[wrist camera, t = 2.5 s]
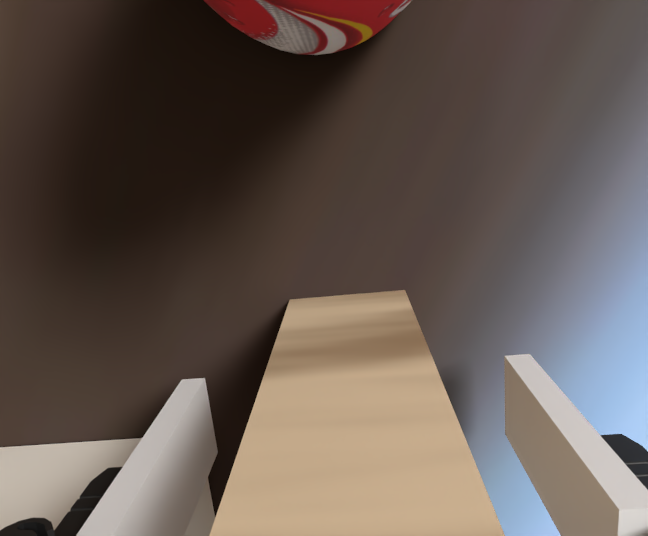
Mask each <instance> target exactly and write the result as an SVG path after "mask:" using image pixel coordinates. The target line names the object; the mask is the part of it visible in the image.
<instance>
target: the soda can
mask: <svg viewBox="0 0 648 536" xmlns="http://www.w3.org/2000/svg"><path fill="white" fill-rule="evenodd" d="M204 1H205V2H206V3H207V4H208V5H209V6H210V7H211V8H212V9H213V10H214V11H216V12H217V13H218V14H219V15H220V16H221V17H223V18H224V19H225V20H226V21H227V22H228V23H230V24H231V25H232V26H233V27H235V28H236V29H238V30H240V31H241V32H243V33H245V34H246V35H248V36H250V37H251V38H253V39H255V40H258V41H260V42H262V43H264V44H266V45H269V46H271V47H274V48H276V49H279V50H282V51H286V52H291V53H295V54H306V55H320V54H328V53H335V52H338V51H342V50H345V49H348V48H352V47H354V46H356V45H358V44H360V43H362V42H364V41H366V40H368V39H369V38H371V37H372V36H374V35H375V34H377V33H378V32H379V31H381V30H382V29H384V28H385V27H386V26H387V25H388V24H389V23H390V22H391V21H392V20H393V19H394V18H395V17H396V16H397V15H398V14H399V13H400V12H401V11H402V10H403V9H404V8H405V7H406V6H407V5H408V4H409V3H410V2H411V0H204Z"/></svg>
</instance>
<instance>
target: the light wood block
mask: <svg viewBox="0 0 648 536" xmlns="http://www.w3.org/2000/svg"><path fill="white" fill-rule="evenodd" d="M209 536H505V535H504V532H503V530H502V528H501V525H500V523H499V520H498V518H497V515H496V513H495V510H494V508H493V505H492V503H491V501H490V498H489V496H488V493H487V491H486V488H485V486H484V483H483V481H482V478H481V476H480V473H479V471H478V469H477V466H476V464H475V461H474V459H473V456H472V454H471V451H470V449H469V446H468V444H467V442H466V439H465V437H464V434H463V432H462V429H461V427H460V424H459V422H458V419H457V417H456V414H455V412H454V410H453V407H452V405H451V402H450V400H449V397H448V395H447V392H446V390H445V387H444V385H443V383H442V380H441V378H440V375H439V373H438V370H437V368H436V365H435V363H434V360H433V358H432V355H431V353H430V351H429V348H428V346H427V343H426V341H425V338H424V336H423V333H422V331H421V328H420V326H419V324H418V321H417V319H416V316H415V314H414V311H413V309H412V306H411V304H410V301H409V299H408V297H407V294H406V292H405V290H400V291H388V292H376V293H363V294H351V295H339V296H327V297H315V298H303V299H291V300H289V303H288V306H287V309H286V312H285V315H284V318H283V321H282V323H281V326H280V329H279V332H278V335H277V338H276V341H275V344H274V347H273V350H272V353H271V356H270V359H269V362H268V365H267V368H266V370H265V373H264V376H263V379H262V382H261V385H260V388H259V391H258V394H257V397H256V400H255V403H254V406H253V409H252V412H251V415H250V417H249V420H248V423H247V426H246V429H245V432H244V435H243V438H242V441H241V444H240V447H239V450H238V453H237V456H236V459H235V462H234V465H233V467H232V470H231V473H230V476H229V479H228V482H227V485H226V488H225V491H224V494H223V497H222V500H221V503H220V506H219V509H218V512H217V514H216V517H215V520H214V523H213V526H212V529H211V532H210V535H209Z"/></svg>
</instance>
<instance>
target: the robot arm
mask: <svg viewBox="0 0 648 536" xmlns="http://www.w3.org/2000/svg"><path fill="white" fill-rule="evenodd" d="M505 434H506V436H507V438H508V440H509V442H510V443H511V445H512V447H513V449H514V451H515V453H516V454H517V456H518V458H519V460H520V462H521V464H522V465H523V467H524V469H525V471H526V473H527V474H528V476H529V478H530V480H531V482H532V484H533V485H534V487H535V489H536V491H537V493H538V494H539V496H540V498H541V500H542V502H543V504H544V505H545V507H546V509H547V511H548V513H549V514H550V516H551V518H552V520H553V522H554V524H555V525H556V527H557V529H558V531H559V533H560V534H561V536H648V452H647V451H646V449H645V448H644V447H643V446H641V445H640V444H638V443H636V442H634V441H633V440H631V439H629V438H627V437H626V436H624V435H622V434H613V435H600V434H599V433H598V432H597V431H596V430H595V429H594V428H593V426H592V425H591V424H590V423H589V422H588V421H587V420H586V418H585V417H584V416H583V415H582V414H581V413H580V411H579V410H578V409H577V408H576V407H575V406H574V405H573V403H572V402H571V401H570V400H569V399H568V398H567V397H566V395H565V394H564V393H563V392H562V391H561V390H560V388H559V387H558V386H557V385H556V384H555V383H554V382H553V380H552V379H551V378H550V377H549V376H548V375H547V374H546V372H545V371H544V370H543V369H542V368H541V367H540V365H539V364H538V363H537V362H536V361H535V360H534V359H533V357H532V356H531V355H530V354H524V355H510V356H505ZM217 453H218V450H217V445H216V439H215V433H214V427H213V421H212V416H211V410H210V404H209V398H208V393H207V387H206V381H205V378H198V379H184V380H181V382H180V383H179V385H178V386H177V388H176V389H175V390H174V392H173V393H172V395H171V396H170V398H169V399H168V401H167V402H166V404H165V405H164V407H163V408H162V410H161V411H160V413H159V414H158V416H157V417H156V419H155V420H154V421H153V423H152V424H151V426H150V427H149V429H148V430H147V432H146V433H145V435H144V436H143V438H142V439H141V441H140V442H139V444H138V445H137V447H136V448H135V450H134V451H133V452H132V454H131V455H130V457H129V458H128V460H127V461H126V463H125V464H124V466H123V467H111V468H107V469H106V470H104V471H103V472H102V473H101V474H99V475H98V476H97V477H96V478H94V479H93V480H92V481H91V482H90V483H89V484H88V486H87V487H86V488H85V490H84V491H83V492H82V494H81V495H80V499H77V500H76V502H75V503H74V505H73V506H72V507H71V510H70V512H68V513H67V514H66V515H65V517H64V518H63V519H62V521H61V522H60V523H59V525H58V526H57V527H56V529H55V530H54V529H53V526H52V522H51V521H49V520H47V519H45V518H29V519H25V520H21V521H18V522H16V523H13V524H11V525H9V526H7V527H4V528H3V529H1V530H0V536H184V535H185V532H186V530H187V527H188V525H189V523H190V520H191V518H192V515H193V513H194V510H195V508H196V505H197V503H198V500H199V498H200V495H201V493H202V490H203V488H204V485H205V483H206V481H207V478H208V476H209V473H210V471H211V468H212V466H213V463H214V461H215V458H216V456H217Z"/></svg>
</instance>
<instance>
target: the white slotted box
mask: <svg viewBox="0 0 648 536" xmlns="http://www.w3.org/2000/svg"><path fill="white" fill-rule="evenodd" d="M141 439H142V438H135V439H120V440H105V441H90V442H75V443H60V444H45V445H30V446H15V447H0V530H1V529H3V528H4V527H7V526H9V525H11V524H13V523H16V522H18V521H21V520H25V519H29V518H45V519H47V520H49V521H51V522H52V526H53V529H54V530H55V529H56V527H57V526H58V525H59V523H60V522H61V521H62V519H63V518H64V517H65V515H66V514H67V513H68V512H70V510H71V507H72V506H73V505H74V503H75V502H76V500H77V499H80V495H81V494H82V492H83V491H84V490H85V488H86V487H87V486H88V484H89V483H90V482H91V481H92V480H93V479H94V478H96V477H97V476H98V475H99V474H101V473H102V472H103V471H104V470H106V469H107V468H111V467H123V466H124V464H125V463H126V461H127V460H128V458H129V457H130V455H131V454H132V452H133V451H134V450H135V448H136V447H137V445H138V444H139V442H140V441H141ZM214 520H215V514H214V509H213V503H212V498H211V492H210V487H209V481H208V478H207V481H206V483H205V485H204V488H203V490H202V493H201V495H200V498H199V500H198V503H197V505H196V508H195V510H194V513H193V515H192V518H191V520H190V523H189V525H188V527H187V530H186V532H185V535H184V536H209V535H210V532H211V529H212V526H213V523H214Z"/></svg>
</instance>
